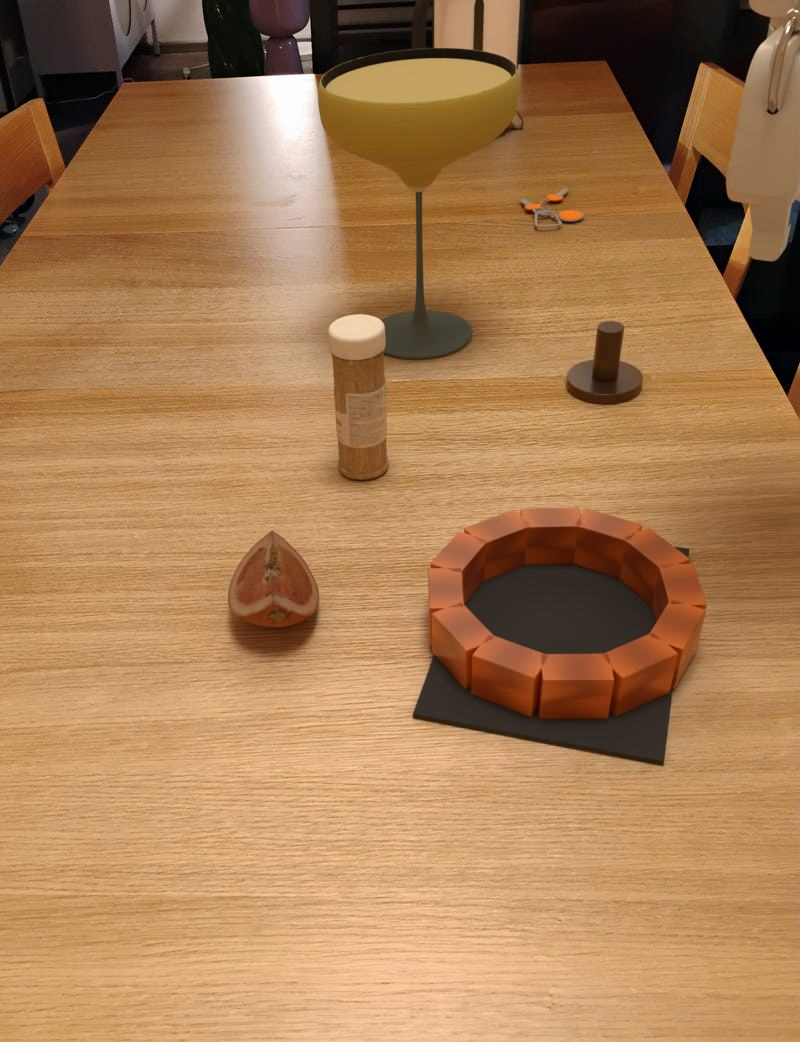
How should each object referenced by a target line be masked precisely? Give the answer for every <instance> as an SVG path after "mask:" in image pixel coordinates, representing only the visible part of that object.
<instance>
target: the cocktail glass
mask: <svg viewBox="0 0 800 1042" xmlns="http://www.w3.org/2000/svg"><path fill="white" fill-rule="evenodd" d="M519 72H520V71H519V68H518V69H517V67H516V65H515V64H514V63H513V62H512V61H511V60H509V59H507V58H505V57H503V56H500V55H497V54H494V53H489V52H485V51H479V50H471V49H459V48H433V47H426V48H423V49H412V48H411V49H399V50H392V51H386V52H380V53H375V54H370V55H366V56H361V57H358V58H353V59H351V60H348V61H346V62H343V63H340V64H338V65H336V66H334V67H332V68H330V69H329V70H327V71H326V72H325V73H324V74H323V75H322V76H321V78H320V80H319V83H318V90H317V102H318V103H317V105H318V112H319V118H320V122H321V126H322V128H323V129H324V131H325V133H326V134H327V135H328V136H329V137H330V138H331V140H333V141H334V142H335V143H336V144H338V145H339V146H340V147H342V148H343V149H344V150H345V151H347V152H349V153H351V154H353V155H355V156H357V157H359V158H362V159H364V160H366V161H368V162H371V163H373V164H375V165H376V164H377V165H379V166H382V167H385V168H386V169H389V170H390V171H392V172H394V173H395V174H396V175H397V176H398V177H399V179H400V180H401V181H402V183H403V184H404V185H405V186H406V188H407V189H408V190H410V191H411V192H414V193H415V231H416V232H415V236H416V237H415V246H416V248H415V249H416V250H415V252H416V253H415V254H416V255H415V266H416V267H415V302H414V310H407V311H402V312H398V313H397V312H396V313H394V314H391V315H388V316H386V317H384V318H382V319H380V320H381V321H382V322H383V323H384V326H385V337H386V346H385V348H384V349H385V352H384V355H387V356H390V357H393V358H398V359H405V360H428V359H429V360H430V359H437V358H440V357H441V358H442V357H445V356H448V355H450V354H453V353H455V352H458V351H459V350H461V349H462V348H464V347H465V346H466V345H467V344H468V343H469V342H470V340H472V335H473V330H472V327H471V325H470V323H469V322H468V321H467V320H465V319H464V318H463V317H461V316H459V315H457V314H454V313H451V312H447V311H443V310H442V311H441V310H436V309H435V310H434V309H427V308H426V301H425V289H424V288H425V287H424V251H423V250H424V248H423V246H424V244H423V242H424V241H423V192H425V191H427V190H428V189H429V188H430V187H431V186H432V184H433V183H434V182H435V181H436V179H437V177H438V176H439V175H440V173H441V172H442V171H443V170H444V169H446V168H447V167H448V166H450V165H452V164H453V163H456V162H458V161H460V160H463V159H464V158H466V157H468V156H470V155H472V154H474V153H476V152H477V151H479V150H480V149H482V148H484V147H486V146H487V145H489V144H491V143H492V142H493V141H494V140H495V139H497V138H498V137H499V136H500V135H501V134H502V133H503V132H504V131H505V130H506V129H508V127H509V125H511V124H510V123H511V121H512V122H513V120H514V118H515V117H516V114H517V112H516V111H517V110H518V107H519V101H520V92H521V91H520V90H521V89H520V87H521V81H520V73H519Z"/></svg>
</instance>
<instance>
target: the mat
mask: <svg viewBox="0 0 800 1042" xmlns="http://www.w3.org/2000/svg"><path fill="white" fill-rule="evenodd" d="M674 547H675V548H676V549H677V550H679V551H680V552H681V553H683V554H684V555H685V556H687V557H688V558H689V554H690V548H687V547H680V546H674ZM465 606H466V607H467V608H468V609H469V610H470V611H471V612H472V613H473V614H474V615H475V616H476V617H477V619H478V620H479V621H480V622H481V623H482V624H483V625H484V626H485V627H486V628H487V629H488V630H489V631H490V632H491V633H492V634H493V635H494V636H497V637H499V638H502V639H505V640H508V641H510V642H513V643H516V644H519V645H522V646H524V647H527V648H530V649H533V650H535V651H538V652H541V653H544V654H604V653H606V652H609V651H611V650H613V649H615V648H618V647H620V646H622V645H625V644H627V643H629V642H632V641H634V640H636V639H639V638H641V637H643V636H646V635H648V634H650V632H651V630H652V629H653V627H654V625H655V624H656V619H655V615H654V611H653V607H652V606H651V605H650V604H649V603H648V602H647V601H645V600H644V599H643V598H642V597H641V596H640V595H638V594H637V593H636V592H635V591H634V590H632V589H631V588H630V587H629V586H628V585H627V584H625V583H624V582H623V581H622V580H621V579H619V578H616V577H613V576H610V575H607V574H604V573H601V572H597V571H594V570H591V569H588V568H585V567H582V566H578V565H575V564H544V565H523V566H521V567H518V568H516V569H513V570H511V571H508V572H505V573H503V574H500V575H498V576H495V577H493V578H490V579H487V580H485V581H484V582H483V583H482V584H481V585H480V586H479V588H478V589H477V590H476V591H475V593H474V594H473V595H472V596H471V597H470V599H469V600H468V601H467V602H466V603H465ZM673 689H674V688H673V687H671V688H670V692H669V693H667V694H665V695H663V696H661V697H658V698H656V699H654V700H652V701H650V702H647V703H645V704H643V705H641V706H639V707H636V708H634V709H632V710H630V711H628V712H625V713H623V714H621V715H619V716H617V717H616V716H614V715H613V714H612V713H611V712H610V711H609V715H608V718H607V719H539V714H538V708H537V709H536V711H535V712H534V713H533V715H532V716H531V717H529V716H526V715H524V714H521V713H519V712H516V711H514V710H511V709H509V708H506V707H504V706H501V705H499V704H496V703H494V702H491V701H489V700H486V699H483V698H481V697H478V696H476V695H473V694H471V687H470V688H467V689H464V688H463V687H462V685H461V684H460V683H459V682H458V681H457V680H456V679H455V677H454V676H453V675H452V674H451V673H450V672H449V671H448V669H447V668H446V667H445V666H444V665H443V664H442V662H441V661H440V660H439V659H438V658H437V657H436V656H435V654H434V653H433V657H432V660H431V661H430V665H429V668H428V671H427V673H426V676H425V679H424V682H423V685H422V687H421V689H420V693H419V695H418V698H417V701H416V704H415V706H414V710H413V712H412V718H413V719H418V720H424V721H429V722H434V723H440V724H445V725H448V726H449V725H450V726H456V727H460V728H465V729H470V730H476V731H482V732H488V733H493V734H497V735H502V736H508V737H513V738H519V739H522V740H528V741H535V742H540V743H544V744H549V745H555V746H559V747H565V748H571V749H575V750H581V751H586V752H590V753H591V752H592V753H597V754H602V755H608V756H612V757H617V758H623V759H628V760H633V761H639V762H645V763H650V764H654V765H661V766H664V764H665V757H666V749H667V740H668V733H669V723H670V715H671V708H672V707H671V706H672V697H673V691H674V690H673Z"/></svg>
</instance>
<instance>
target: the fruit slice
mask: <svg viewBox="0 0 800 1042" xmlns="http://www.w3.org/2000/svg"><path fill="white" fill-rule="evenodd" d="M227 603H228V608H229V611H230V612H231V613H232V614H233V615H235V616H236V617H237V618H238V619H241V620H242V621H245V622H248V623H249V624H252V625H256V626H259V627H267V628H286V627H288V626H293V625H296V624H299V623H301V622H304V621H305V620H306V619H308V618H310V617H311V616H312V615H313V614H314V613H315V612H316V610H317V609H318V606H319V604H320V591H319V587H318V584H317V581H316V578H315V577H314V575H313V573H312V571H311V570H310V568H309V565H308V563H307V562H306V561H305V559H304V558H303V557H302V555H301V553H299V552H298V551H297V550H296V549H295V548H294V547H293V546H292V545H291V544H290V543H289V542H288V541H287V540H286V539H285V537H282V536H281V535H280V534H278V533H277V532H275V531H274V530H270V531H269V532H268V533H266V534H264V536H263V537H262V538H260V539H259V540H258V541H257V542H256V543H255V544H254V545H253V546H251V548H250V549H249V551H248V552H247V553H246V554H245V555H244V556H243V557H242V559H241V561H240V562H239V564H238V565H237V567H236V569H235V571H234V572H233V575H232V578H231V581H230V583H229V587H228V592H227Z"/></svg>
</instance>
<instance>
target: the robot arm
mask: <svg viewBox="0 0 800 1042" xmlns="http://www.w3.org/2000/svg"><path fill="white" fill-rule="evenodd" d="M748 5H749V8H750V9H751V10H752V11H753V12H755V13H757V14H758V15H761V16H764V17H768V18H769V24H768V29H767V35H766V39H765V40H764V41H762V42H761V43H760V45H758V48H757V49H756V51H755V53H754V54H753V57H752V59H751V62H750V65H749V68H748V71H747V74H746V79H745V82H744V86H743V91H742V95H741V100H740V104H739V110H738V113H737V119H736V124H735V127H734V128H735V129H734V134H733V139H732V143H731V148H730V153H729V159H728V165H727V170H726V177H725V187H726V195H727V197H728V199H729V200H730V201H732V202H737V203H742V204H749V212H750V221H751V230H752V231H751V236H750V242H749V248H748V255H749V257H751V259H753V260H758V261H765V262H775V261H777V260H778V259H779V258H780V257H781V255H782V254H783V252H784V251H785V249H786V248H787V246H788V239H789V235H790V232H791V226H792V223H790V217H791V211H792V206H793V203H794V202H795V201H796V202H800V0H748Z"/></svg>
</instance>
